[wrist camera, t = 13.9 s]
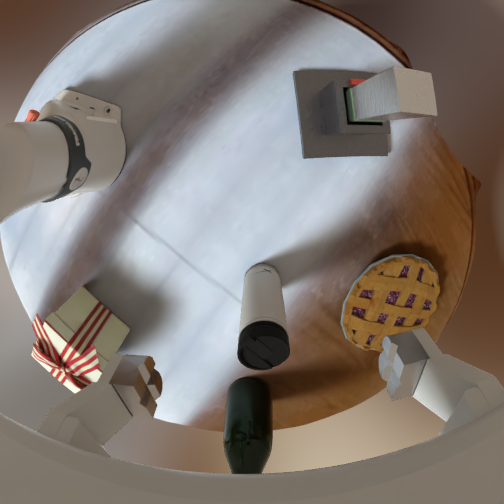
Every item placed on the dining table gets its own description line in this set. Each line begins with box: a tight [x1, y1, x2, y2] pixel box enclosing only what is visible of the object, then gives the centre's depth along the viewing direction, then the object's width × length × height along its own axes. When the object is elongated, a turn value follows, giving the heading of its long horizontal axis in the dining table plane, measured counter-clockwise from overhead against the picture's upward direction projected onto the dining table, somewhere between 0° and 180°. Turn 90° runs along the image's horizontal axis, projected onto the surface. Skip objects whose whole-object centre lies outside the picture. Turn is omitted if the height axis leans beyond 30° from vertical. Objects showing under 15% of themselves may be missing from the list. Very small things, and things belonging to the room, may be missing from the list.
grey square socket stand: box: [293, 71, 390, 159], centre depth 33 cm, size 14×14×11 cm
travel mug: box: [237, 264, 290, 370], centre depth 40 cm, size 6×7×20 cm
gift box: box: [31, 286, 131, 393], centre depth 46 cm, size 17×18×17 cm
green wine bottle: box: [223, 378, 273, 474], centre depth 45 cm, size 10×10×33 cm
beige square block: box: [344, 66, 437, 124], centre depth 25 cm, size 4×4×17 cm
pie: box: [341, 254, 440, 351], centre depth 48 cm, size 22×22×5 cm
